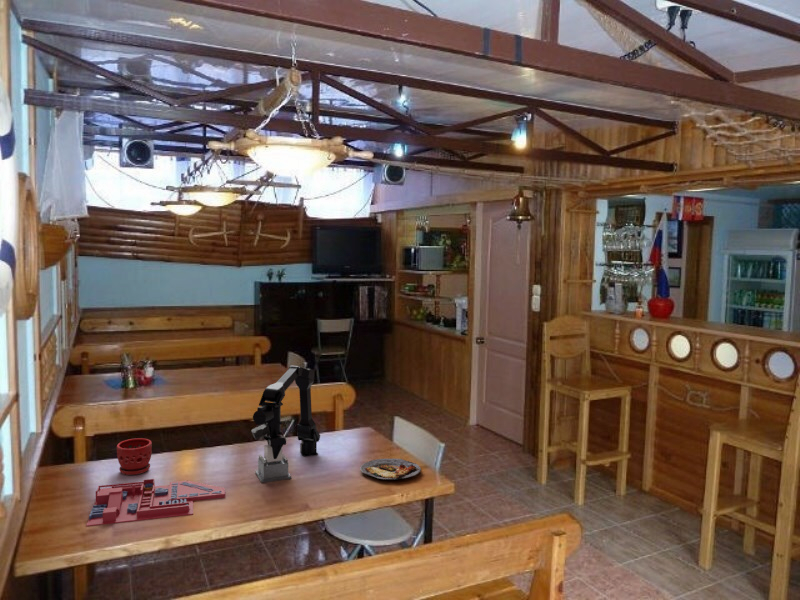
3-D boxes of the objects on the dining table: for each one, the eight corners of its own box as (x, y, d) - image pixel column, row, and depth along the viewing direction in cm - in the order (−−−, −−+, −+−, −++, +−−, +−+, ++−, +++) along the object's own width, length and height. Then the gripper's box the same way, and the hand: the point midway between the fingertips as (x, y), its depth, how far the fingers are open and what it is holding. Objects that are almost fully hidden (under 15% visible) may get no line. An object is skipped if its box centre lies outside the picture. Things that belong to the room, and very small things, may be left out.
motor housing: (282, 467, 259) (283, 449, 258) (291, 478, 246) (291, 460, 246) (254, 471, 254) (254, 453, 253) (261, 482, 241) (261, 464, 241)
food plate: (431, 473, 255) (431, 464, 255) (393, 488, 238) (393, 479, 238) (388, 459, 272) (388, 452, 272) (349, 473, 255) (349, 465, 255)
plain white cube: (278, 455, 253) (278, 443, 252) (282, 460, 247) (282, 448, 247) (264, 457, 250) (264, 445, 250) (267, 462, 245) (267, 449, 244)
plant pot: (112, 470, 251) (112, 442, 250) (145, 463, 260) (145, 436, 259) (123, 479, 241) (122, 450, 240) (156, 472, 250) (156, 443, 249)
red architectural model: (228, 511, 216) (228, 495, 215) (85, 529, 200) (85, 512, 200) (221, 480, 244) (221, 466, 244) (96, 494, 228) (96, 478, 228)
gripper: (248, 414, 252) (248, 451, 254) (257, 426, 235) (257, 466, 237) (275, 412, 257) (275, 448, 258) (286, 423, 240) (286, 462, 241)
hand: (273, 456), depth 249 cm, fingers closed on plain white cube, 6 cm apart
